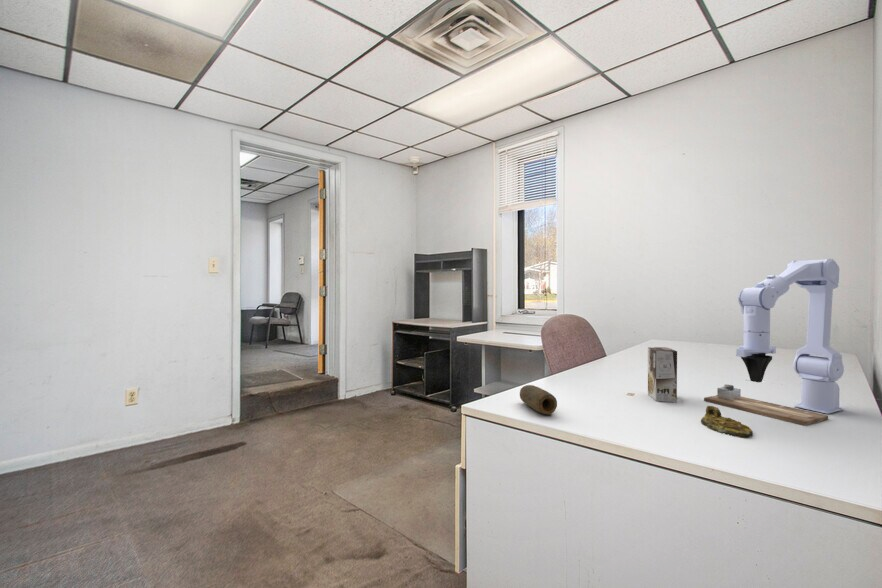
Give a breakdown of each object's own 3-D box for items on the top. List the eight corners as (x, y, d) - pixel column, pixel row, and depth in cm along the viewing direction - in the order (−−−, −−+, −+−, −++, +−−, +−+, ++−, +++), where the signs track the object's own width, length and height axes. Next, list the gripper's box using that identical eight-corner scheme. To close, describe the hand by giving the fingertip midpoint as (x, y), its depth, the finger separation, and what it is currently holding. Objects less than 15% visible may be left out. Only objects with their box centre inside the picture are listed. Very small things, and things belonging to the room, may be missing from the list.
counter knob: (727, 395, 131) (727, 383, 131) (740, 398, 128) (740, 386, 128) (717, 397, 129) (717, 384, 129) (730, 400, 126) (731, 387, 126)
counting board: (726, 396, 135) (727, 393, 135) (828, 419, 111) (828, 415, 111) (704, 400, 130) (704, 397, 130) (804, 425, 106) (805, 421, 106)
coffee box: (677, 402, 128) (678, 351, 128) (655, 401, 129) (655, 350, 129) (667, 395, 137) (668, 346, 137) (647, 394, 138) (647, 346, 138)
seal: (766, 443, 98) (720, 422, 113) (769, 424, 98) (722, 405, 113) (729, 440, 97) (688, 418, 112) (732, 420, 97) (690, 402, 112)
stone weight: (561, 416, 115) (562, 392, 115) (539, 418, 114) (539, 394, 113) (535, 401, 130) (535, 380, 130) (515, 403, 128) (515, 382, 128)
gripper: (755, 329, 117) (755, 376, 118) (724, 331, 111) (724, 381, 112) (784, 331, 111) (784, 381, 111) (753, 334, 105) (752, 386, 105)
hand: (756, 381), depth 111 cm, fingers closed
